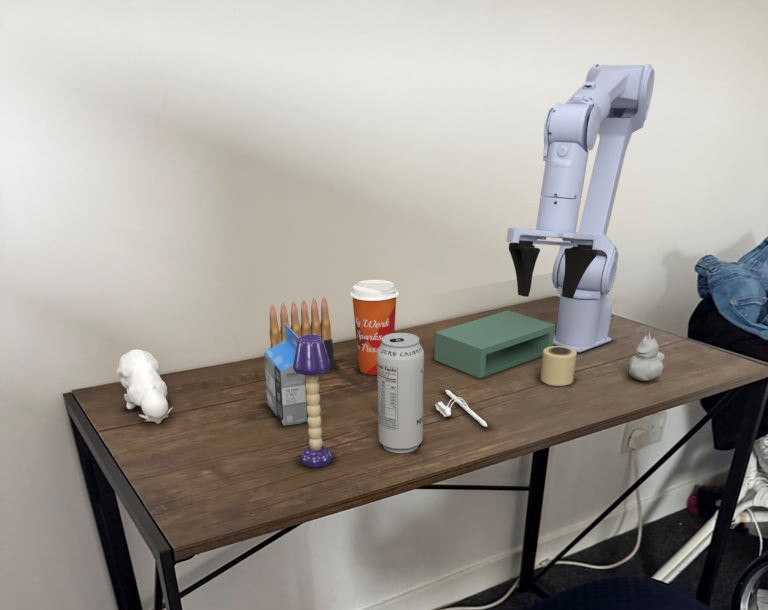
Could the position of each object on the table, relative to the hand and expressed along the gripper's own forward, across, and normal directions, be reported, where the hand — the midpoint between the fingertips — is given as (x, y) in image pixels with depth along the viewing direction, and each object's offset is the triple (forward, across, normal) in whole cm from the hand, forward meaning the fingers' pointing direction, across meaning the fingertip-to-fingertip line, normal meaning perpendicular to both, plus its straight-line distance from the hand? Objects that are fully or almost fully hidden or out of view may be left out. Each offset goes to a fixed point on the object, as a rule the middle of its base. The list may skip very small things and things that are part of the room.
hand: (545, 296), depth 113 cm
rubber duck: (+12, +19, -2) cm, 23 cm away
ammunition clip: (+16, -31, +21) cm, 41 cm away
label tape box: (+19, -37, +6) cm, 42 cm away
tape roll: (+13, +6, +3) cm, 15 cm away
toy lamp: (+21, -37, -10) cm, 43 cm away
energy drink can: (+20, -25, -10) cm, 33 cm away
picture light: (+17, -14, -2) cm, 22 cm away
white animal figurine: (+21, -56, +14) cm, 62 cm away
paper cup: (+15, -20, +18) cm, 30 cm away
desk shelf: (+12, +1, +16) cm, 20 cm away
